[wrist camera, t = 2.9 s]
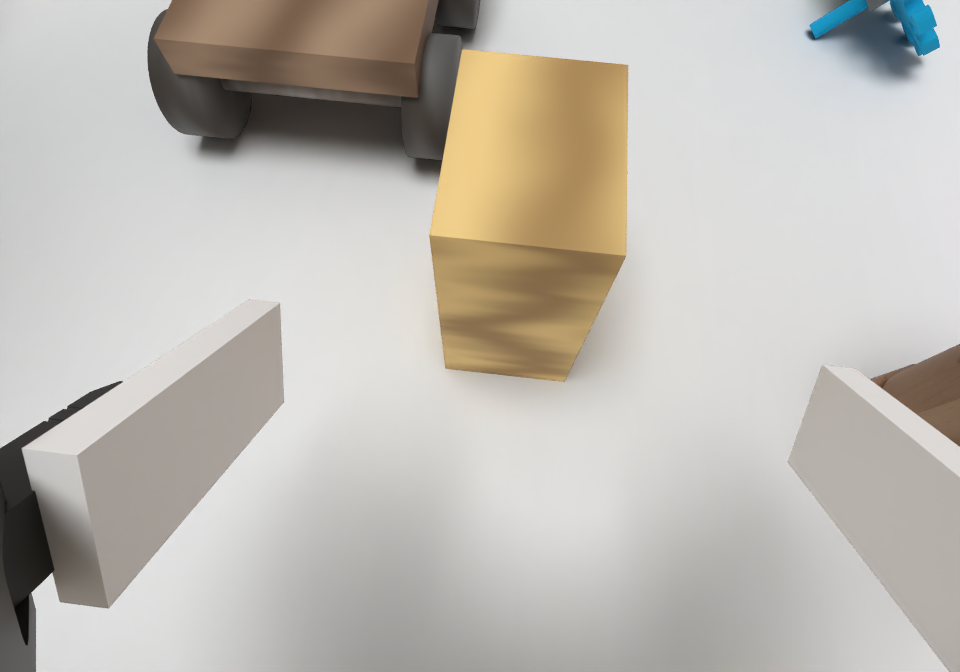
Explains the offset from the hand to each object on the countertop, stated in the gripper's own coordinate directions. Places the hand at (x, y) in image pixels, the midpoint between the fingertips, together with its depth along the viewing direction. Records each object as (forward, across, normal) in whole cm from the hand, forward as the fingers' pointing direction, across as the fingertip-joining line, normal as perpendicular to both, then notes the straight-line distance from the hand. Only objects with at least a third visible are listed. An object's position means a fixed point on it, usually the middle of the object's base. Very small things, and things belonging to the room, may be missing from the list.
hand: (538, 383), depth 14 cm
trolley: (+27, -13, +8) cm, 31 cm away
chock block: (+16, -1, -3) cm, 16 cm away
